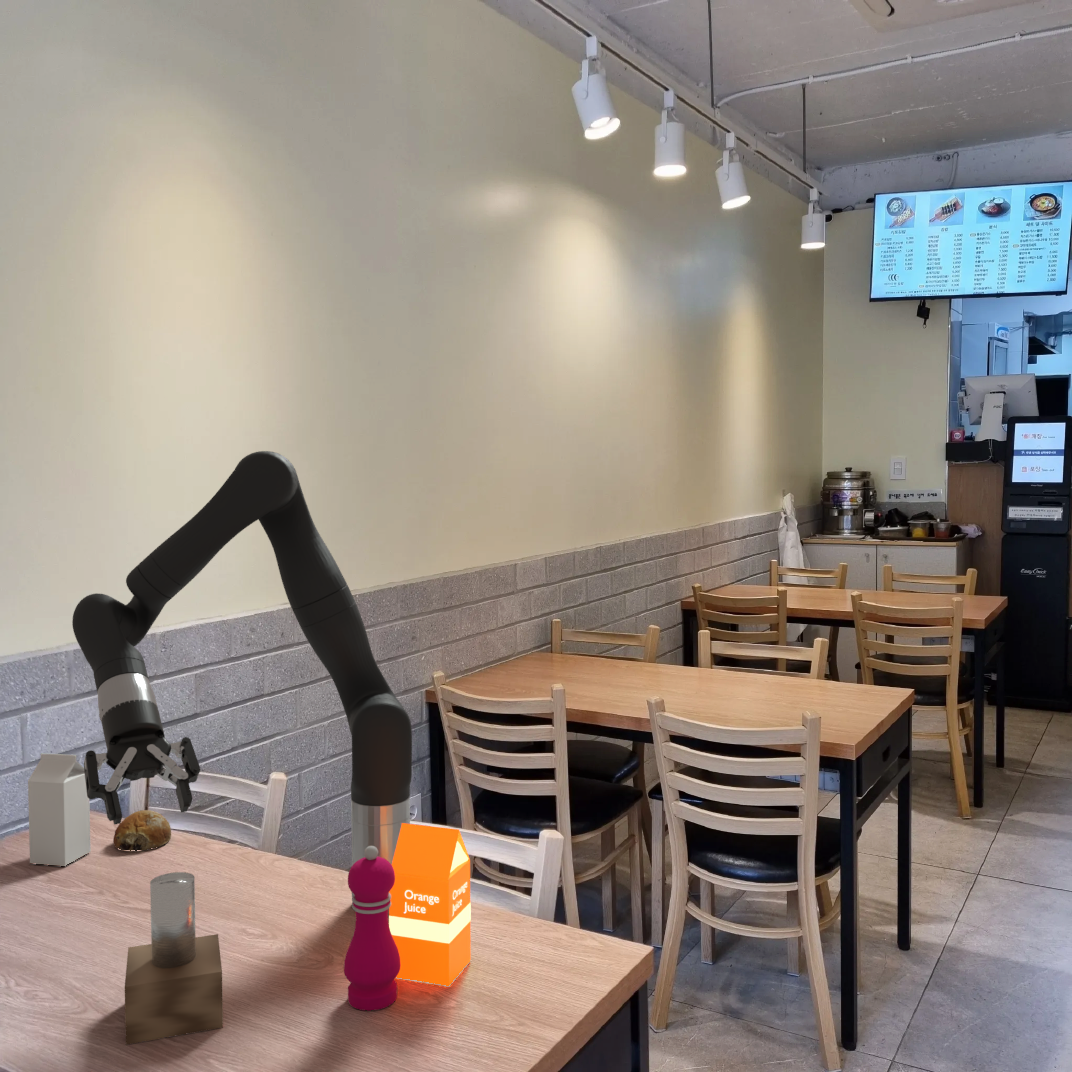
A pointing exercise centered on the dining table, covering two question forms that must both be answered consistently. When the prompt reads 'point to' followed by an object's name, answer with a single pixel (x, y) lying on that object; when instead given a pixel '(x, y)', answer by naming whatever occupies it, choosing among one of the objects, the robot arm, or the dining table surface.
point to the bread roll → (142, 831)
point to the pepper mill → (371, 935)
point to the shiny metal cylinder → (173, 919)
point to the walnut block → (173, 993)
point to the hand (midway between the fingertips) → (152, 815)
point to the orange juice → (431, 903)
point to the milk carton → (58, 811)
